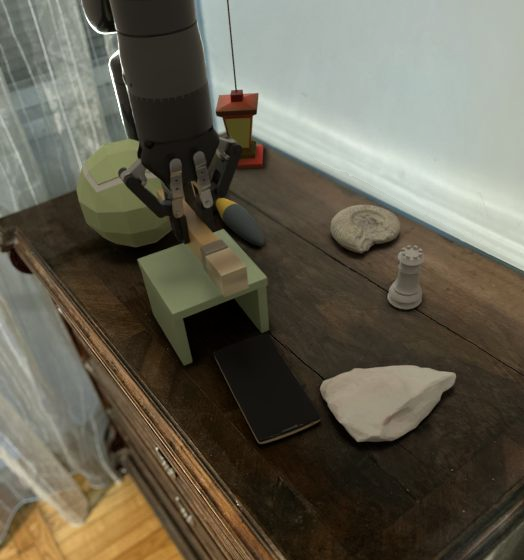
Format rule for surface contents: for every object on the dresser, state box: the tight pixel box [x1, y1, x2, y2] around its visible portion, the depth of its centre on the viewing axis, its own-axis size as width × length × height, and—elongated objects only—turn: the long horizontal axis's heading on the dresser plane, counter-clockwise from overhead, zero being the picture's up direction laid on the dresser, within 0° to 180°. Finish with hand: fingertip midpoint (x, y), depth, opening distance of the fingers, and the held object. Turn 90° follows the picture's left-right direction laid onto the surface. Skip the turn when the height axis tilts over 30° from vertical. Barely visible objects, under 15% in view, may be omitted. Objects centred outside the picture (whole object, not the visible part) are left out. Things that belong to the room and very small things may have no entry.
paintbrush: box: [209, 178, 266, 247], centre depth 87 cm, size 20×5×5 cm, turn 38°
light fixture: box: [215, 0, 265, 170], centre depth 93 cm, size 8×8×30 cm
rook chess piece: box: [387, 244, 425, 311], centre depth 71 cm, size 4×4×8 cm
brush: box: [156, 188, 249, 297], centre depth 62 cm, size 20×3×3 cm, turn 28°
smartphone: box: [213, 332, 322, 445], centre depth 64 cm, size 7×1×15 cm
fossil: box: [330, 204, 401, 255], centre depth 83 cm, size 11×4×10 cm
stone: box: [319, 364, 457, 443], centre depth 60 cm, size 11×4×15 cm
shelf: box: [136, 228, 270, 366], centre depth 70 cm, size 12×12×9 cm
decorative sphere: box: [75, 138, 186, 248], centre depth 82 cm, size 15×15×15 cm
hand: (195, 236), depth 63 cm, fingers closed on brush, 2 cm apart
